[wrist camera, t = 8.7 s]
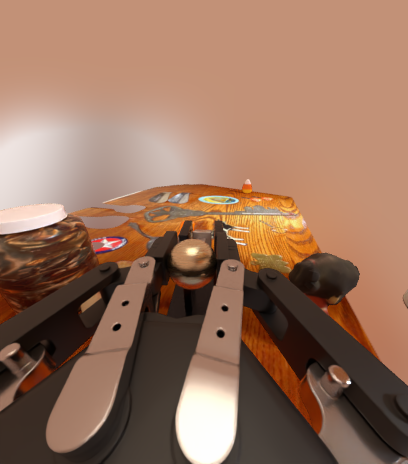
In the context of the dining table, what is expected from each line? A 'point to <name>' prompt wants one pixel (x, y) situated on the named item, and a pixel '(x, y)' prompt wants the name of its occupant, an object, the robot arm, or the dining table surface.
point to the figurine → (324, 278)
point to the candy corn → (247, 187)
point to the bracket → (197, 299)
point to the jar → (41, 252)
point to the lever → (193, 261)
